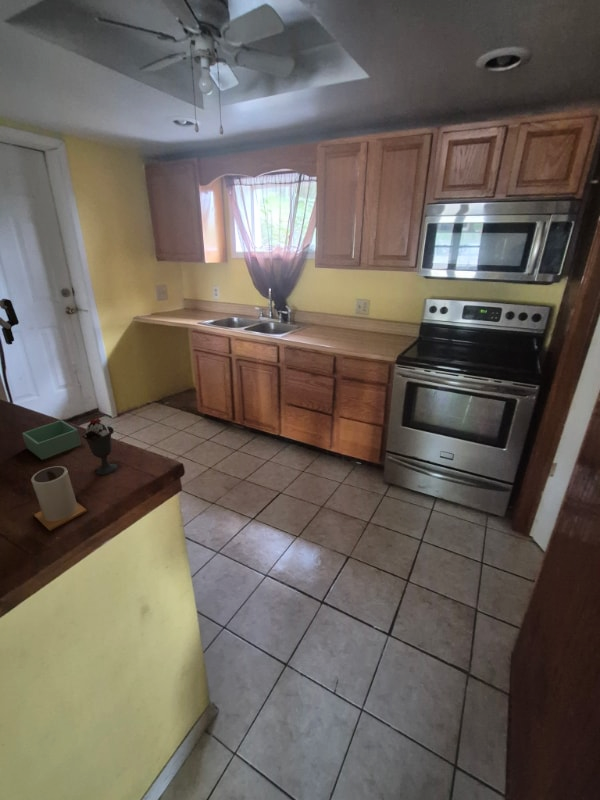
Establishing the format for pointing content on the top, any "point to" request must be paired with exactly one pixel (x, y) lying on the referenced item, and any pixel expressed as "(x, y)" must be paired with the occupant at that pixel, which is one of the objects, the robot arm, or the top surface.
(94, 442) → the sundae
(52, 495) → the coffee cup
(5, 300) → the robot arm
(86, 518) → the top surface
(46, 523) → the coaster
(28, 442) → the bin
